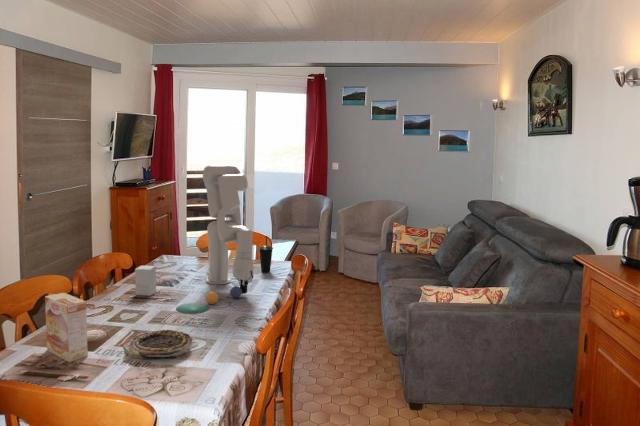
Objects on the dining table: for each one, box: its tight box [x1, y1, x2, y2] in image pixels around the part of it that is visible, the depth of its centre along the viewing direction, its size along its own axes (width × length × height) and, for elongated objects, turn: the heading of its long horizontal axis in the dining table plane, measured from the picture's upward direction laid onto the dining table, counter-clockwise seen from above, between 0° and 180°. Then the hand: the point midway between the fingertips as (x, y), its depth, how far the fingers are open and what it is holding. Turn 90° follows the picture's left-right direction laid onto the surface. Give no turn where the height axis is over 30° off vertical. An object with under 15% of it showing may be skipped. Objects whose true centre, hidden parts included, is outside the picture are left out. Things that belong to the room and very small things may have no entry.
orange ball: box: [205, 291, 219, 305], centre depth 246 cm, size 6×6×6 cm
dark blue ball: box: [229, 286, 242, 299], centre depth 256 cm, size 6×6×6 cm
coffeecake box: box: [44, 292, 89, 363], centre depth 187 cm, size 15×7×20 cm, turn 52°
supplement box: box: [134, 265, 157, 296], centre depth 258 cm, size 7×7×13 cm
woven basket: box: [123, 329, 193, 365], centre depth 193 cm, size 28×27×5 cm
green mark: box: [176, 302, 210, 315], centre depth 240 cm, size 14×14×1 cm
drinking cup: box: [258, 236, 274, 274], centre depth 305 cm, size 8×8×20 cm
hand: (243, 292), depth 259 cm, fingers closed
